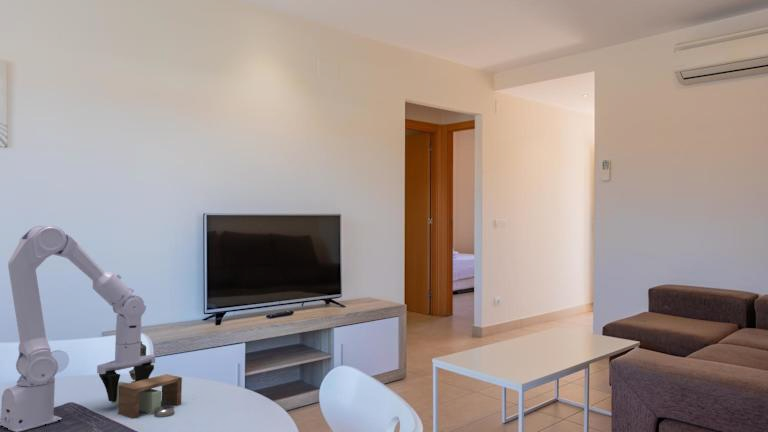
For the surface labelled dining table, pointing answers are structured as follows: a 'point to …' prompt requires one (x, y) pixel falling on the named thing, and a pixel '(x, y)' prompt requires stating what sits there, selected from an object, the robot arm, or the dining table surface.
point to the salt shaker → (142, 353)
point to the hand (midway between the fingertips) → (126, 397)
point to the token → (164, 411)
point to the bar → (145, 399)
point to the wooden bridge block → (130, 391)
